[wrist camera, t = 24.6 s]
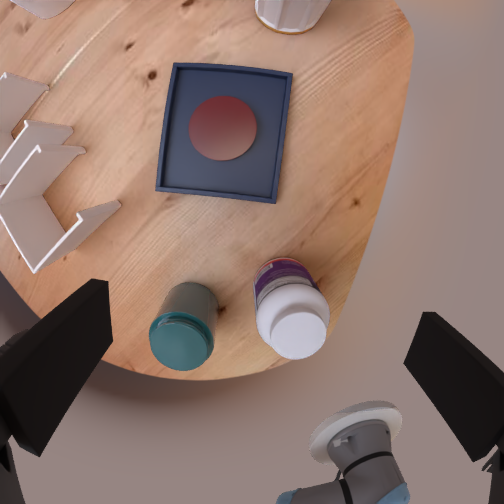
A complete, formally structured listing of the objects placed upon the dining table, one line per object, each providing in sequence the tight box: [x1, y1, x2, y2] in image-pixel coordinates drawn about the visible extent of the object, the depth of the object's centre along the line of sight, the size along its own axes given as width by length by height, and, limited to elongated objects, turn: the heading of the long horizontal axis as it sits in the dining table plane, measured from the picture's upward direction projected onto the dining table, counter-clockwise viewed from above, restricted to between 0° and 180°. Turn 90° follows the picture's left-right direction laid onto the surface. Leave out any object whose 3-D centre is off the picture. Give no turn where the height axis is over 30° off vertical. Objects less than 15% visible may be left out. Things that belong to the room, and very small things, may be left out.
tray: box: [155, 63, 293, 204], centre depth 34 cm, size 17×15×2 cm
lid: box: [188, 96, 257, 161], centre depth 34 cm, size 8×8×2 cm
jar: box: [149, 282, 219, 371], centre depth 37 cm, size 8×8×11 cm
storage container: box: [0, 72, 122, 274], centre depth 30 cm, size 25×11×11 cm, turn 34°
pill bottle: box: [253, 258, 330, 359], centre depth 34 cm, size 8×8×14 cm
